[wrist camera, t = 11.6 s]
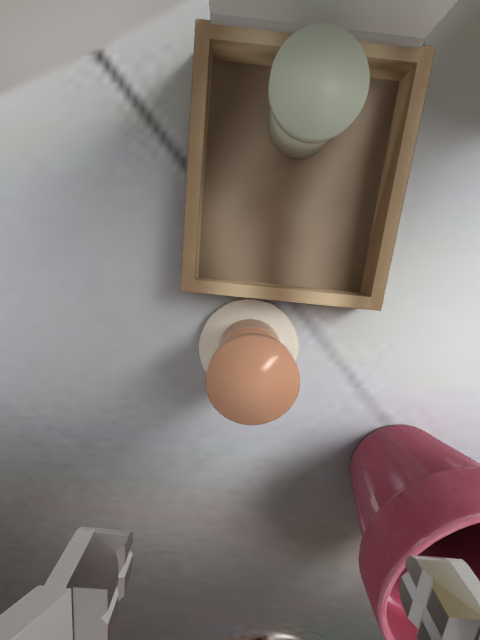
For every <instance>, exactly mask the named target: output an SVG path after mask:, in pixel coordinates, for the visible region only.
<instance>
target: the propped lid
mask: <svg viewBox="0 0 480 640" xmlns="http://www.w3.org/2000/svg"><path fill="white" fill-rule="evenodd" d="M458 1H459V0H209V6H210V23H211V24H214V25H223V26H231V27H240V28H249V29H257V30H266V31H274V32H283V33H291V34H294V33H295V32H297V31H298V30H300V29H302V28H304V27H306V26H309V25H313V24H319V23H326V24H332V25H336V26H339V27H341V28H343V29H345V30H347V31H348V32H349V33H350V34H352V35H353V36H354V37H355V38H356V39H357V41H359V42H368V43H376V44H385V45H393V46H402V47H410V48H419V49H420V48H421V47H422V45H423V43H424V40H425V38H426V37H427V36H428V35H429V33H430V32H431V31H432V30H433V29H434V28H435V27H436V26H437V24H438V23H439V22H440V21H441V20H442V19H443V18H444V17H445V15H446V14H447V13H448V12H449V11H450V10H451V9H452V8H453V6H454V5H455V4H456V3H457V2H458Z"/></svg>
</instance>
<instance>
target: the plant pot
mask: <svg viewBox="0 0 480 640" xmlns="http://www.w3.org/2000/svg"><path fill="white" fill-rule="evenodd" d="M350 474H351V479H352V485H353V491H354V497H355V502H356V508H357V513H358V518H359V523H360V529H361V534H362V540H361V544H360V550H359V568H360V573H361V577H362V580H363V583H364V586H365V589H366V592H367V595H368V598H369V601H370V603H371V606H372V609H373V612H374V614H375V617H376V620H377V622H378V625H379V627H380V630H381V633H382V635H383V637H384V639H385V640H417V630H418V628H417V627H416V626H415V625H414V624H413V623H412V622H411V621H410V620H409V619H408V618H407V615H406V613H405V611H404V608H403V605H402V602H401V598H400V589H399V585H400V580H401V576H403V575H404V574H405V573H406V572H408V570H407V568H406V566H405V562H406V559H407V557H408V556H410V555H417V556H432V557H442V558H454V559H462V560H463V561H465V562H466V563H467V564H468V566H469V567H470V568H471V570H472V571H473V573H474V574H475V575H476V577H477V578H478V580H479V581H480V464H479V463H477V462H476V461H474V460H472V459H471V458H469V457H467V456H466V455H464V454H462V453H460V452H459V451H457V450H455V449H453V448H452V447H450V446H448V445H447V444H445V443H443V442H441V441H440V440H438V439H436V438H435V437H433V436H431V435H430V434H428V433H427V432H425V431H423V430H421V429H419V428H416V427H413V426H408V425H392V426H387V427H383V428H380V429H378V430H376V431H374V432H372V433H371V434H369V435H368V436H366V437H365V438H364V439H363V440H362V441H361V442H360V443H359V444H358V446H357V447H356V449H355V451H354V453H353V455H352V458H351V462H350Z"/></svg>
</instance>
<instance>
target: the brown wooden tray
mask: <svg viewBox="0 0 480 640" xmlns="http://www.w3.org/2000/svg"><path fill="white" fill-rule="evenodd" d="M291 35H292V34H291V33H283V32H274V31H266V30H257V29H249V28H240V27H231V26H223V25H214V24H211V23H210V20H203V19H196V20H195V38H194V56H193V74H192V92H191V110H190V128H189V146H188V164H187V182H186V201H185V219H184V237H183V255H182V273H181V291H184V292H194V293H205V294H215V295H225V296H235V297H245V298H255V299H266V300H276V301H286V302H296V303H306V304H317V305H327V306H337V307H347V308H357V309H367V310H378V311H381V308H382V303H383V298H384V293H385V289H386V284H387V279H388V274H389V269H390V264H391V260H392V255H393V250H394V245H395V240H396V236H397V231H398V226H399V221H400V216H401V212H402V207H403V202H404V197H405V192H406V187H407V183H408V178H409V173H410V168H411V163H412V159H413V154H414V149H415V144H416V139H417V134H418V130H419V125H420V120H421V115H422V110H423V106H424V101H425V96H426V91H427V86H428V82H429V77H430V72H431V67H432V62H433V57H434V53H435V48H436V47H432V46H424V45H422V47H421V48H420V49H419V48H410V47H402V46H393V45H385V44H376V43H368V42H359V41H358V42H359V43H360V45H361V46H362V48H363V50H364V52H365V55H366V57H367V61H368V65H369V72H370V82H369V90H368V94H367V98H366V101H365V103H364V105H363V107H362V110H361V111H360V113H359V114H358V116H357V117H356V118H355V120H354V121H353V122H352V123H351V124H350V125H349V126H348V127H347V128H346V129H345V130H344V131H343V132H342V133H341V134H340V135H338V136H337V137H335V138H333V139H331V140H329V141H327V143H326V144H325V145H324V146H323V147H322V148H321V149H320V150H319V151H318V152H317V153H315V154H314V155H312V156H309V157H306V158H300V159H298V158H291V157H288V156H286V155H284V154H282V153H281V152H280V151H279V150H278V149H277V148H276V147H275V146H274V144H273V143H272V141H271V139H270V136H269V132H268V115H269V110H270V106H269V100H268V85H269V79H270V73H271V68H272V65H273V62H274V59H275V57H276V55H277V53H278V51H279V49H280V48H281V46H282V45H283V43H284V42H285V41H286V40H287V39H288V38H289V37H290V36H291Z"/></svg>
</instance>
